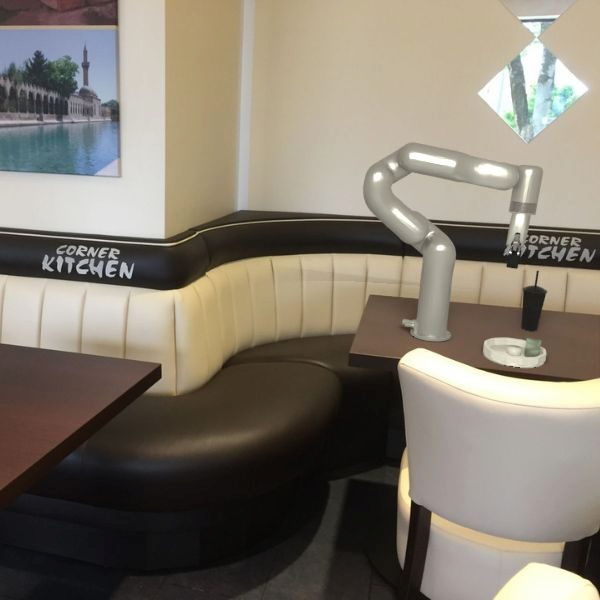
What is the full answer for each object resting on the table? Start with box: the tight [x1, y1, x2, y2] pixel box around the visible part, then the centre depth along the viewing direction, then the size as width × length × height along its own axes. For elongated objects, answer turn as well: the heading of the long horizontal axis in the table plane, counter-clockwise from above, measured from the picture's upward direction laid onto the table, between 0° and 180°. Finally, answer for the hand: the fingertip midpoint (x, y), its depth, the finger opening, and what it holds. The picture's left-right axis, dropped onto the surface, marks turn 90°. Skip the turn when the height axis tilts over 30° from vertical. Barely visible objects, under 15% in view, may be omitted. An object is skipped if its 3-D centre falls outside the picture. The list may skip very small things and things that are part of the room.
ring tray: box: [482, 336, 547, 369], centre depth 174 cm, size 17×17×3 cm
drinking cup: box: [521, 270, 548, 332], centre depth 198 cm, size 8×8×20 cm
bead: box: [524, 337, 542, 357], centre depth 172 cm, size 4×4×5 cm
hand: (512, 264), depth 181 cm, fingers open, 9 cm apart
